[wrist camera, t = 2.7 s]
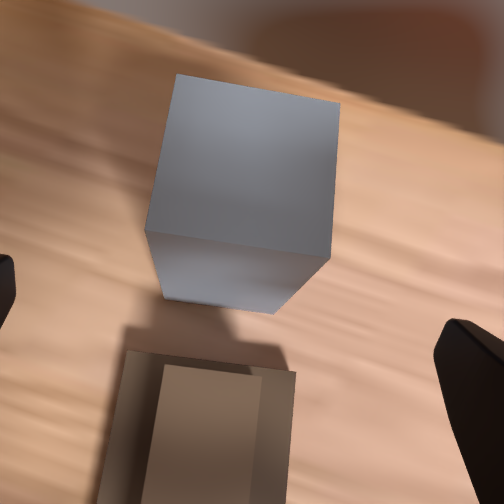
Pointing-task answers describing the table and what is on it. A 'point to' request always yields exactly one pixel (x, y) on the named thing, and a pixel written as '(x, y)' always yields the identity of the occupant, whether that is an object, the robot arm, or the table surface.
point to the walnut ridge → (198, 433)
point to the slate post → (242, 194)
